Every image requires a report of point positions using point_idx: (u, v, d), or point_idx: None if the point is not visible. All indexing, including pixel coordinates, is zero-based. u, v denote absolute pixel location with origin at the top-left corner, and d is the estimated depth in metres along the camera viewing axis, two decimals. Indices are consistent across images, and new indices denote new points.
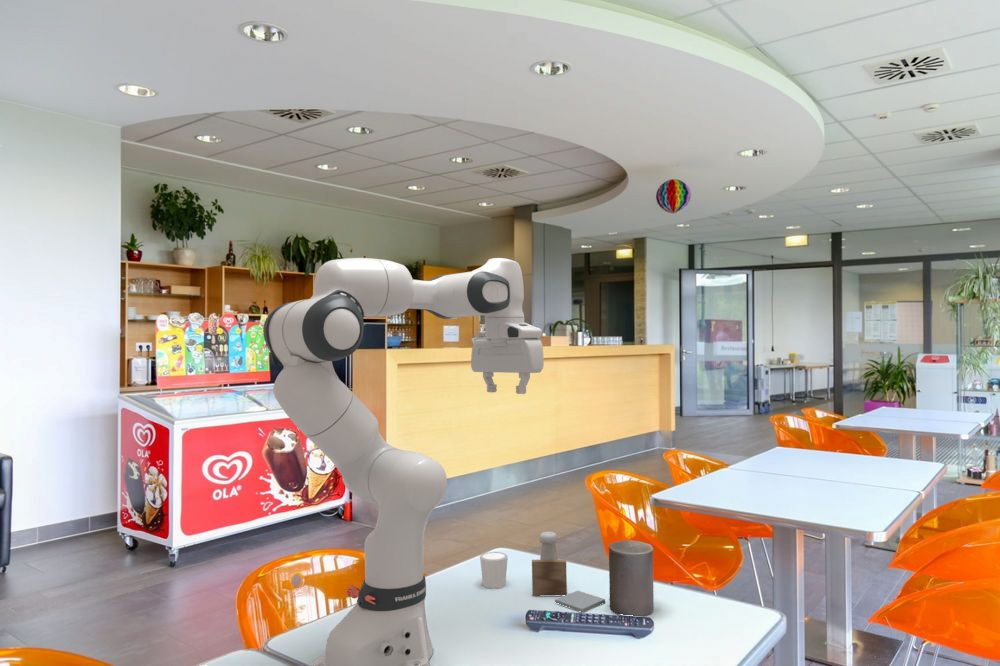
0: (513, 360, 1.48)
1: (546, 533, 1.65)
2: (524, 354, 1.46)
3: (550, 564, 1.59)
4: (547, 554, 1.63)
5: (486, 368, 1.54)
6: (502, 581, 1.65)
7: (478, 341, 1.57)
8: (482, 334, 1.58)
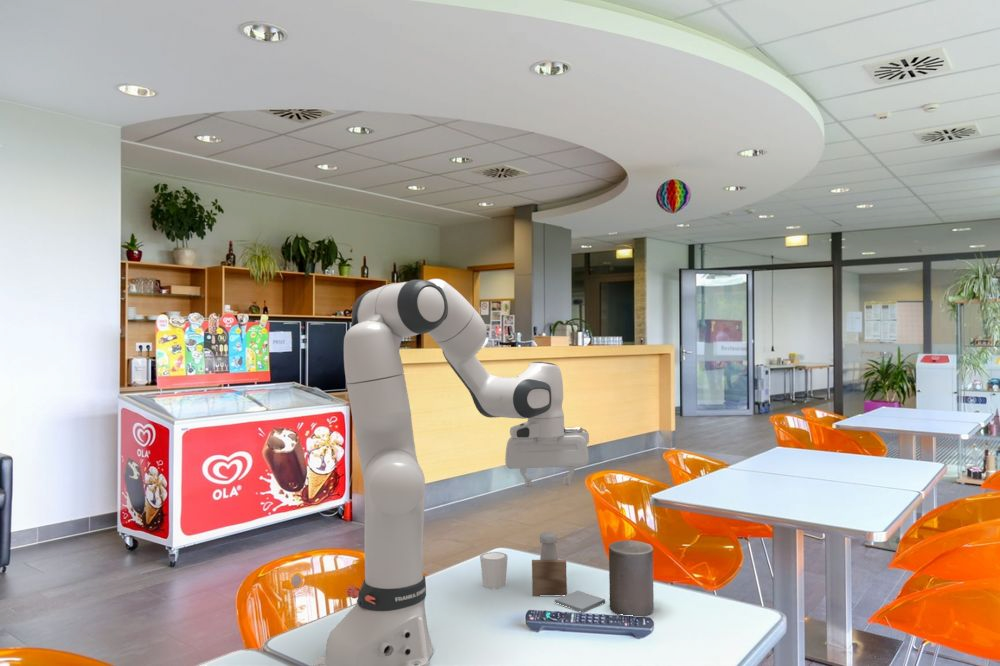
0: None
1: (546, 533, 1.65)
2: None
3: (550, 564, 1.59)
4: (548, 554, 1.63)
5: None
6: (502, 581, 1.65)
7: None
8: None
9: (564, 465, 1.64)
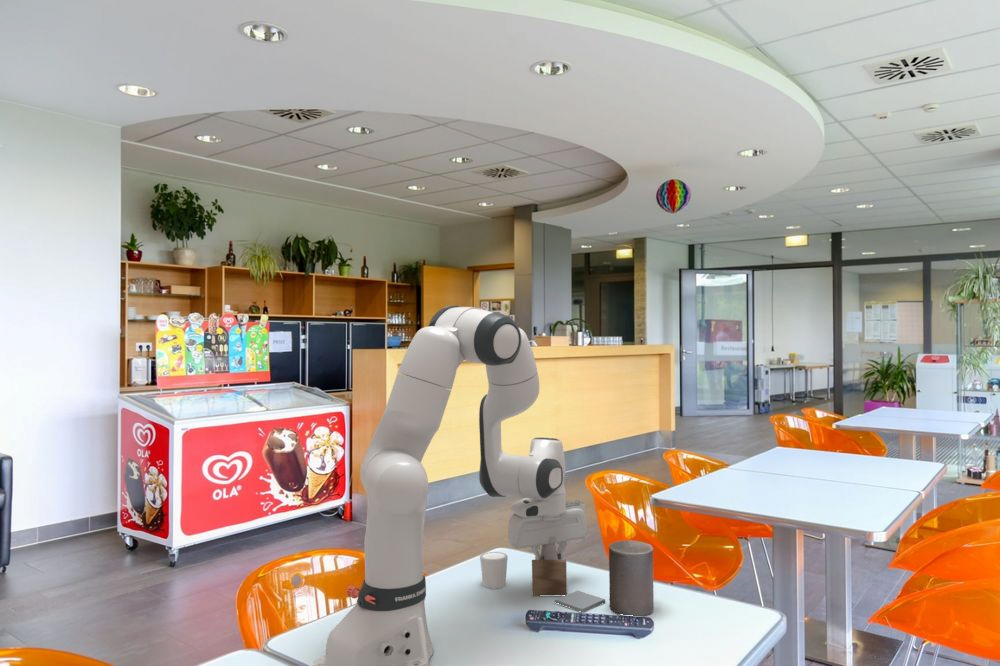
0: None
1: None
2: None
3: (550, 564, 1.59)
4: (548, 554, 1.63)
5: None
6: (502, 581, 1.65)
7: None
8: None
9: (566, 540, 1.65)
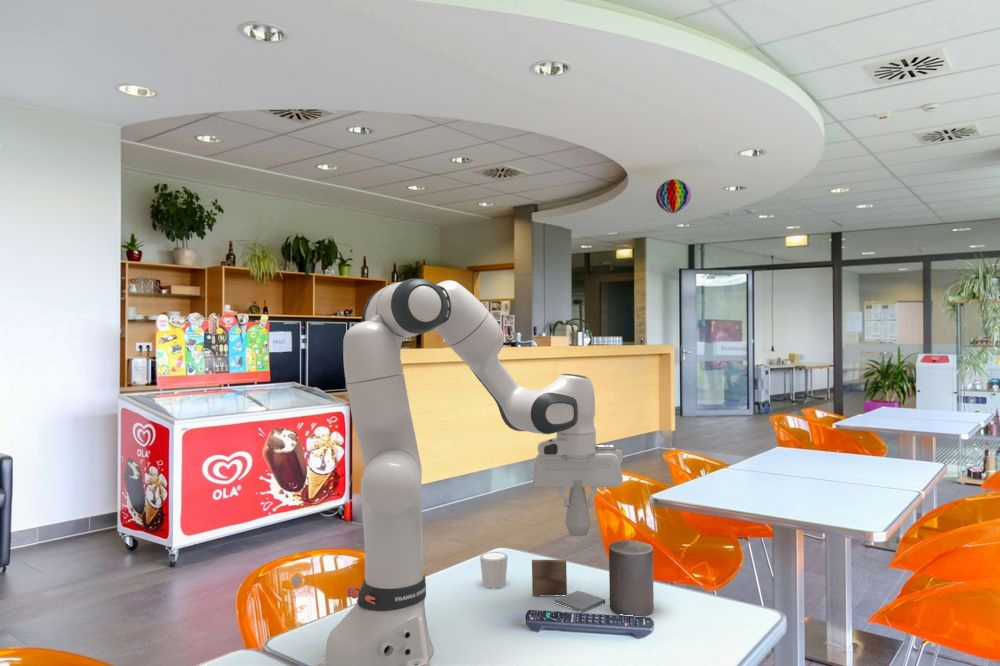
0: None
1: None
2: None
3: (550, 564, 1.59)
4: (573, 498, 1.53)
5: None
6: (502, 581, 1.65)
7: None
8: None
9: (595, 485, 1.53)
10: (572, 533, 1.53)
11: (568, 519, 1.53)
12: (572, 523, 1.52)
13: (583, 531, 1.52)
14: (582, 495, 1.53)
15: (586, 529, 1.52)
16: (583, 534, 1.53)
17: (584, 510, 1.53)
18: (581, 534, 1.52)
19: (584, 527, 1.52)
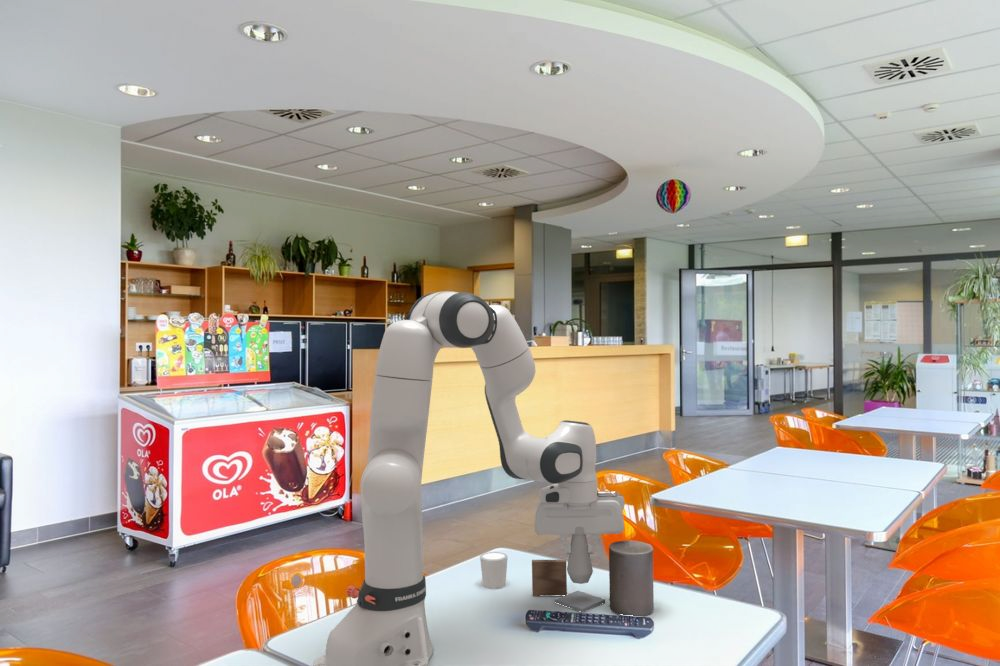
0: None
1: None
2: None
3: (550, 564, 1.59)
4: (575, 545, 1.53)
5: None
6: (502, 581, 1.65)
7: None
8: None
9: (597, 532, 1.52)
10: (574, 580, 1.53)
11: (570, 566, 1.53)
12: (574, 571, 1.52)
13: (585, 578, 1.52)
14: (584, 542, 1.53)
15: (588, 576, 1.52)
16: (585, 581, 1.52)
17: (586, 557, 1.52)
18: (583, 581, 1.52)
19: (586, 575, 1.52)
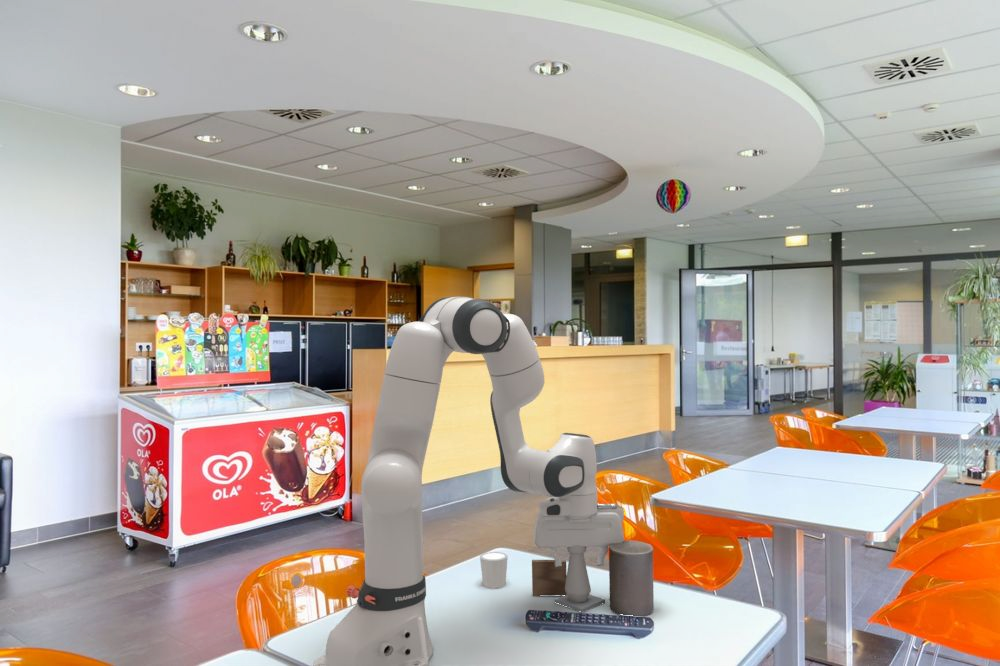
0: None
1: None
2: None
3: (550, 564, 1.59)
4: (573, 564, 1.53)
5: None
6: (502, 581, 1.65)
7: None
8: None
9: (597, 545, 1.53)
10: (572, 599, 1.52)
11: (569, 585, 1.52)
12: (572, 590, 1.52)
13: (583, 597, 1.52)
14: (582, 561, 1.53)
15: (586, 595, 1.52)
16: (583, 600, 1.52)
17: (584, 576, 1.52)
18: (581, 600, 1.52)
19: (584, 593, 1.51)
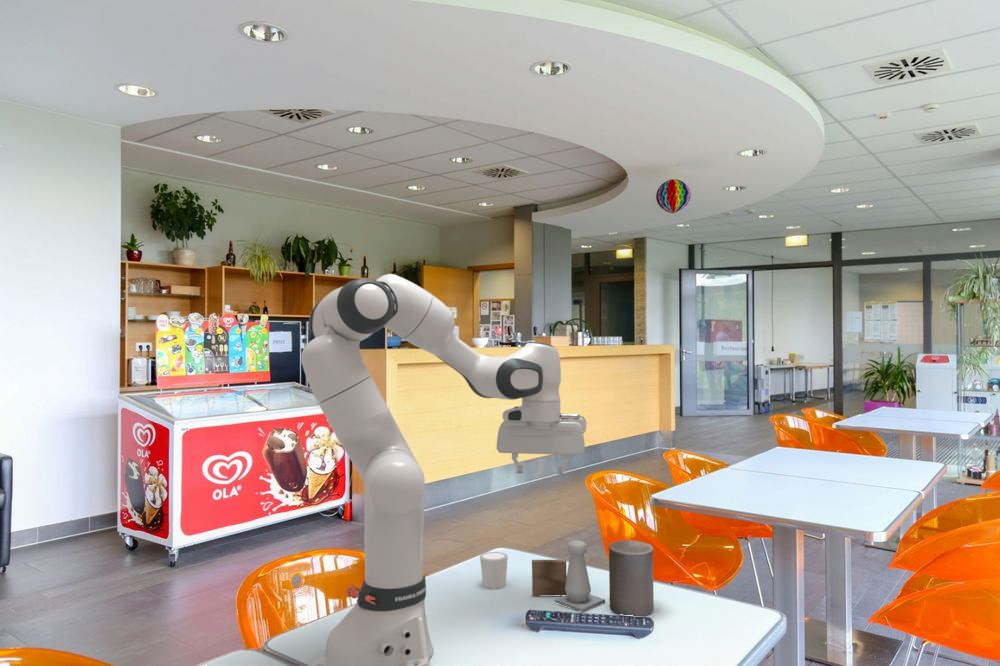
0: None
1: (574, 542, 1.54)
2: None
3: (550, 564, 1.59)
4: (573, 564, 1.53)
5: None
6: (502, 581, 1.65)
7: None
8: None
9: (558, 453, 1.55)
10: (572, 600, 1.52)
11: (569, 586, 1.52)
12: (572, 590, 1.52)
13: (583, 598, 1.52)
14: (582, 561, 1.53)
15: (586, 596, 1.52)
16: (583, 601, 1.52)
17: (584, 576, 1.52)
18: (581, 601, 1.52)
19: (584, 594, 1.51)
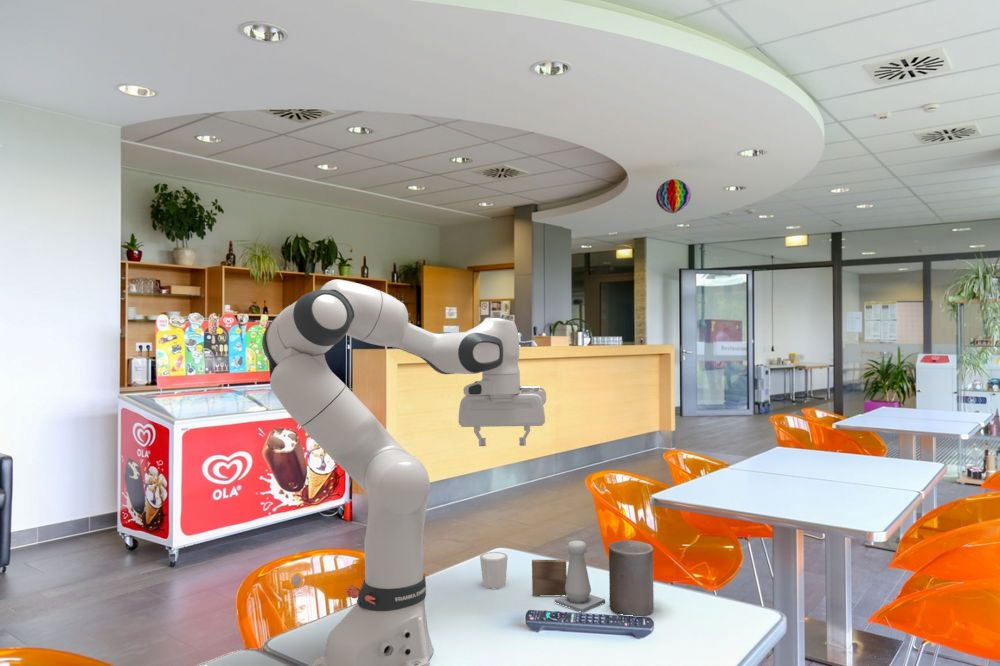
0: None
1: (574, 542, 1.54)
2: None
3: (550, 564, 1.59)
4: (573, 564, 1.53)
5: None
6: (502, 581, 1.65)
7: None
8: None
9: (518, 424, 1.58)
10: (572, 600, 1.52)
11: (569, 586, 1.52)
12: (572, 590, 1.52)
13: (583, 598, 1.52)
14: (582, 561, 1.53)
15: (586, 596, 1.52)
16: (583, 601, 1.52)
17: (584, 576, 1.52)
18: (581, 601, 1.52)
19: (584, 594, 1.51)
